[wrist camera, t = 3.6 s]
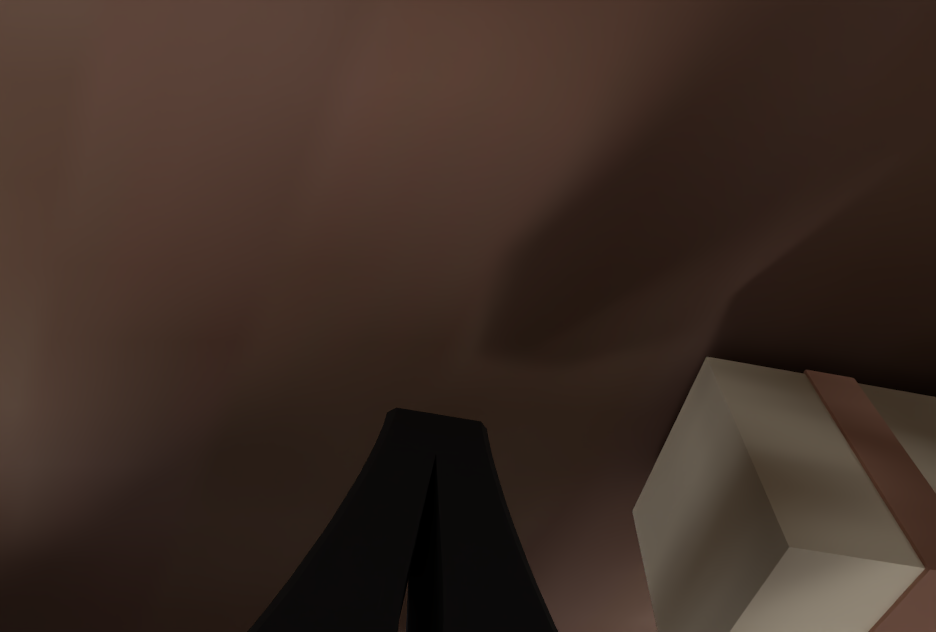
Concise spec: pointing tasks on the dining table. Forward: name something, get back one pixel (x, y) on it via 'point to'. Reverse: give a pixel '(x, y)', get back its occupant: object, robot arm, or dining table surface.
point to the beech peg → (792, 506)
